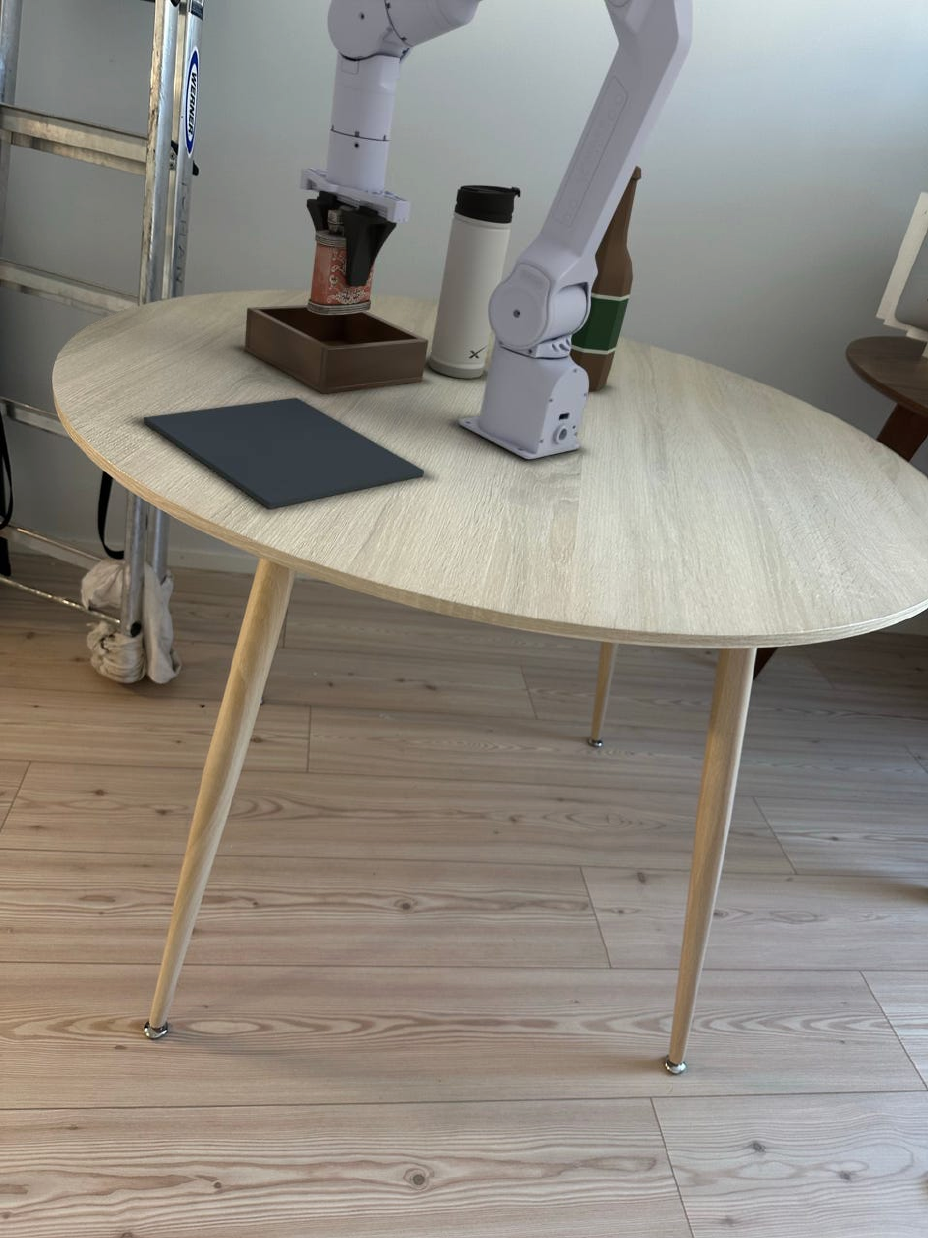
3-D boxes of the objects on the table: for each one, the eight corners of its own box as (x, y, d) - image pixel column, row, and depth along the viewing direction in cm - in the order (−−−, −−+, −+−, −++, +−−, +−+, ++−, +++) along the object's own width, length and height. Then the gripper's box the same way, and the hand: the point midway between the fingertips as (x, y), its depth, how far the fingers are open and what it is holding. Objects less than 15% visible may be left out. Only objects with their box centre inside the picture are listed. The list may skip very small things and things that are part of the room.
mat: (423, 475, 85) (424, 470, 84) (269, 509, 74) (269, 503, 73) (296, 402, 94) (296, 397, 94) (143, 422, 83) (143, 416, 83)
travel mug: (485, 383, 110) (522, 193, 100) (427, 372, 110) (458, 180, 100) (485, 367, 116) (520, 185, 106) (430, 357, 115) (460, 173, 105)
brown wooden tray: (422, 381, 107) (428, 340, 105) (323, 393, 98) (328, 349, 95) (343, 341, 114) (347, 302, 112) (244, 349, 105) (246, 307, 103)
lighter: (322, 316, 99) (335, 212, 94) (299, 306, 100) (310, 202, 95) (377, 310, 105) (392, 211, 100) (354, 300, 106) (368, 202, 101)
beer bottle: (604, 378, 121) (659, 167, 109) (606, 396, 114) (664, 174, 102) (542, 365, 121) (590, 153, 109) (541, 383, 114) (591, 159, 102)
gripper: (280, 116, 95) (269, 261, 102) (377, 147, 88) (359, 301, 94) (337, 122, 100) (323, 260, 107) (434, 152, 92) (412, 299, 99)
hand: (343, 279), depth 101 cm, fingers closed on lighter, 3 cm apart
